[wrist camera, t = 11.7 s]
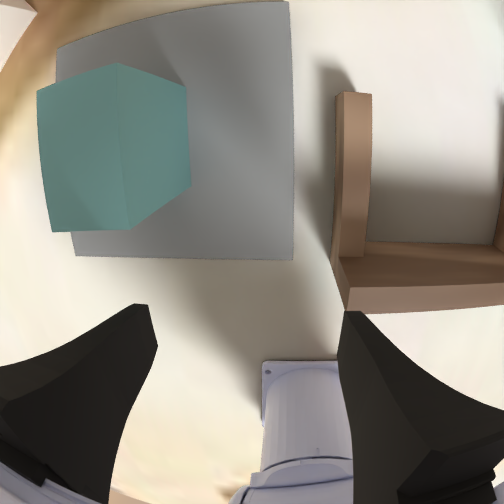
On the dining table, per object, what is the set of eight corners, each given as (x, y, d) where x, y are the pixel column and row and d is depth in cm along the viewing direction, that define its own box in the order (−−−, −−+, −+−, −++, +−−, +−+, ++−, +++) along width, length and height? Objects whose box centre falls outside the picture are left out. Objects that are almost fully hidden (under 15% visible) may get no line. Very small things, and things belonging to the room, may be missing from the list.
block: (191, 186, 17) (130, 229, 10) (132, 189, 18) (52, 232, 11) (186, 87, 15) (116, 62, 8) (125, 97, 16) (36, 90, 8)
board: (292, 254, 19) (292, 259, 19) (81, 252, 21) (75, 256, 20) (288, 6, 13) (288, 1, 13) (63, 50, 15) (57, 48, 14)
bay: (500, 262, 18) (542, 299, 12) (329, 262, 19) (346, 314, 14) (518, 132, 14) (572, 143, 8) (335, 96, 15) (361, 81, 10)
